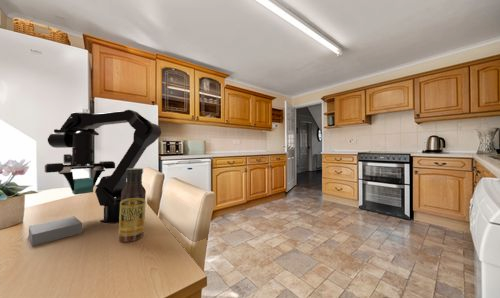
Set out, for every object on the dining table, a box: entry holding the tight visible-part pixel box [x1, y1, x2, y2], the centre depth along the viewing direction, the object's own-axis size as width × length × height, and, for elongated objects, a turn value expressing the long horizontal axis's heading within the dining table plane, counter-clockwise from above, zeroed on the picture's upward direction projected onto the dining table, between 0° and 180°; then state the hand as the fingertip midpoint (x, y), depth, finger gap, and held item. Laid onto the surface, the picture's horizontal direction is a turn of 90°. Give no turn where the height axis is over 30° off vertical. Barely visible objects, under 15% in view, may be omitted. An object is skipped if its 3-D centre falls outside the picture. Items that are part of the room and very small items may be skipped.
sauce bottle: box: [118, 167, 147, 243], centre depth 53 cm, size 7×6×20 cm
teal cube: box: [71, 177, 94, 196], centre depth 69 cm, size 5×5×5 cm
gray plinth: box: [28, 216, 83, 247], centre depth 56 cm, size 10×10×3 cm
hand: (82, 189), depth 69 cm, fingers closed on teal cube, 5 cm apart
